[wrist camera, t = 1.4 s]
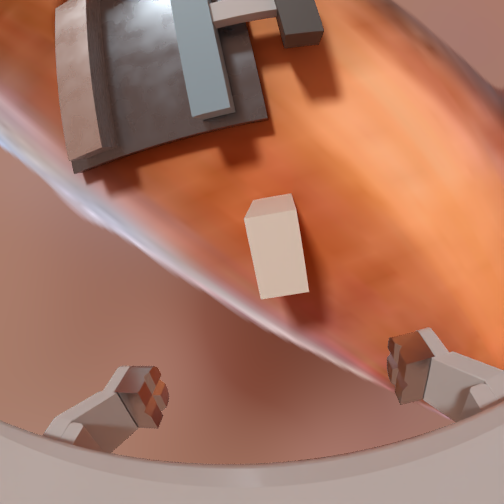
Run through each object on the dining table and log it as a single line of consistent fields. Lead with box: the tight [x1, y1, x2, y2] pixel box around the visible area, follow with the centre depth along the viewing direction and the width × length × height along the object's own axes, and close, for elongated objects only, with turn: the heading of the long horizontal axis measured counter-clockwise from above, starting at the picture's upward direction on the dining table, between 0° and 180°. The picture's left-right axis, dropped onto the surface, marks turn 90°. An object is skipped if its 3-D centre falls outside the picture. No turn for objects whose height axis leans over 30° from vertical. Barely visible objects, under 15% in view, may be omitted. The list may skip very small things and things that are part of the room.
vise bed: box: [55, 0, 268, 174], centre depth 22 cm, size 20×20×4 cm
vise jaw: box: [170, 0, 324, 120], centre depth 19 cm, size 11×18×3 cm, turn 11°
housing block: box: [244, 194, 309, 299], centre depth 25 cm, size 4×6×8 cm, turn 11°
